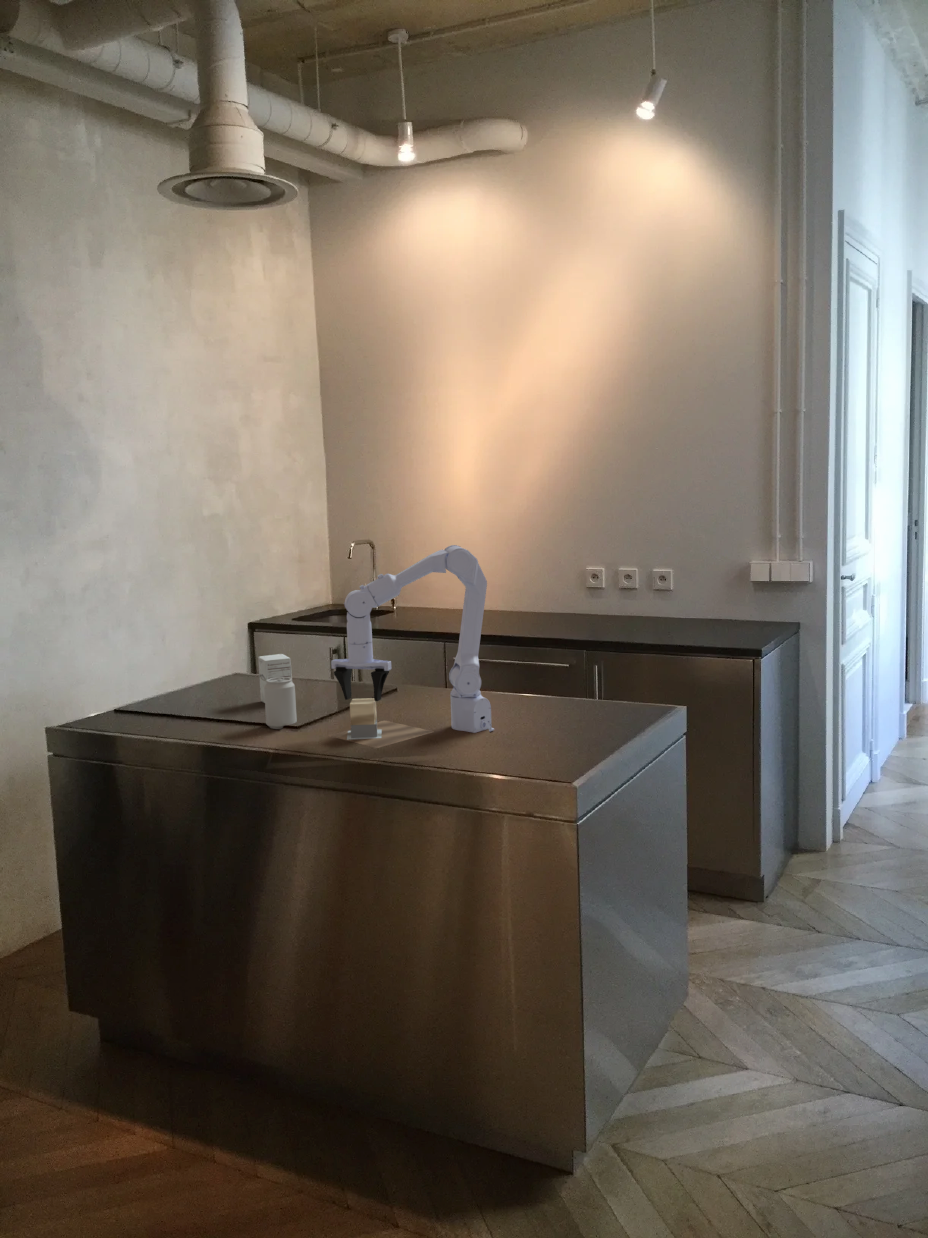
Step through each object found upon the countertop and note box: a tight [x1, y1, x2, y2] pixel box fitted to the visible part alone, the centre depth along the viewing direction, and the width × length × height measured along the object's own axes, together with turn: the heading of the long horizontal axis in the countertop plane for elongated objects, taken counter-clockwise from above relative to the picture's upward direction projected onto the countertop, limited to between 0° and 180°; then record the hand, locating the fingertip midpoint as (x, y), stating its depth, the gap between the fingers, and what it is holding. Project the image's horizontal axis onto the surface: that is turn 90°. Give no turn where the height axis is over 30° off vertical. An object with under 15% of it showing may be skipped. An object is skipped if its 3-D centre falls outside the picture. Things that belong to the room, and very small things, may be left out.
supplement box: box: [257, 653, 293, 704], centre depth 299 cm, size 7×7×13 cm
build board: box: [327, 720, 435, 749], centre depth 259 cm, size 18×18×1 cm
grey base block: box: [350, 719, 378, 738], centre depth 258 cm, size 6×6×3 cm
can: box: [264, 677, 298, 730], centre depth 272 cm, size 8×8×12 cm
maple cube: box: [349, 697, 378, 726], centre depth 258 cm, size 6×6×5 cm
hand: (362, 699), depth 257 cm, fingers open, 7 cm apart
